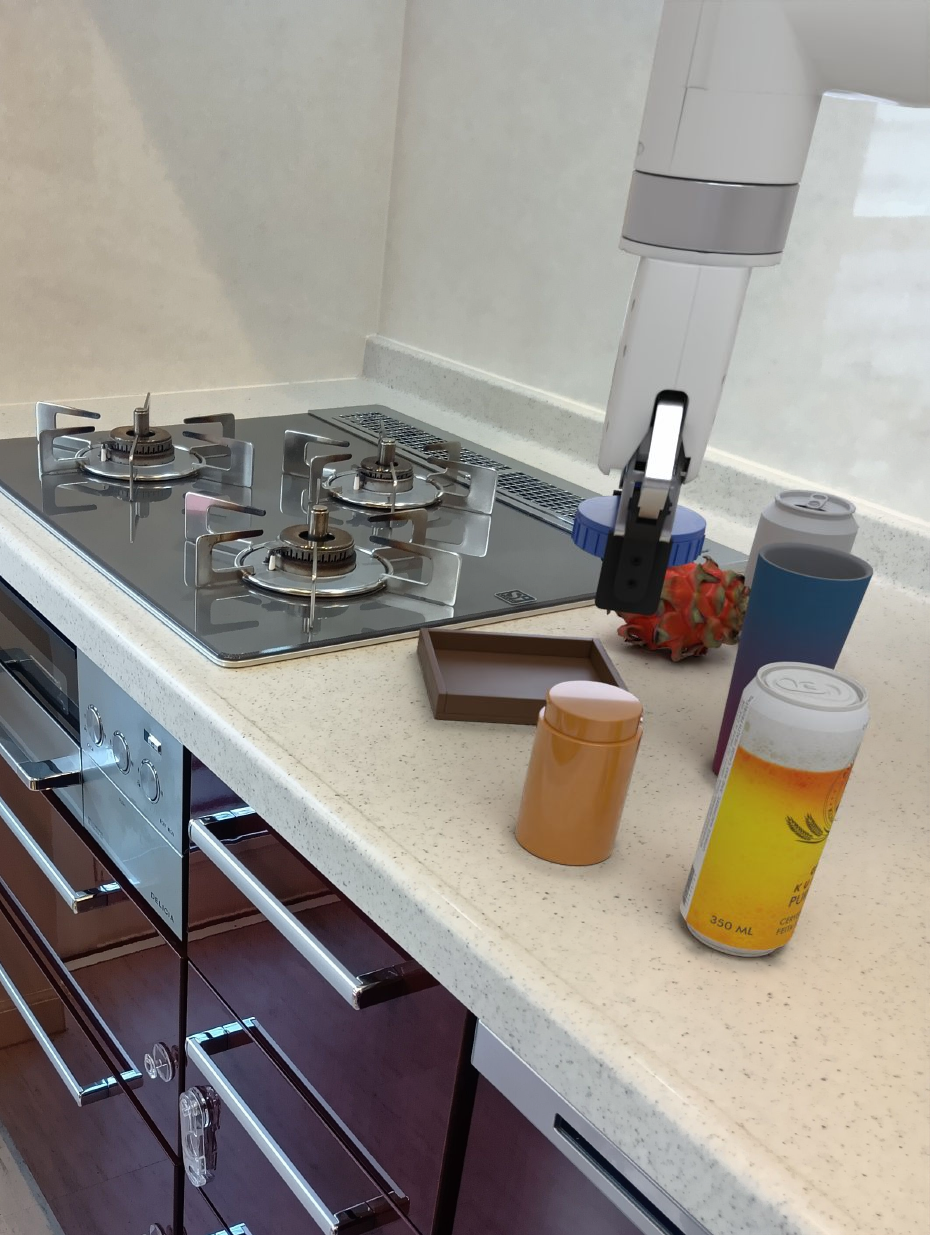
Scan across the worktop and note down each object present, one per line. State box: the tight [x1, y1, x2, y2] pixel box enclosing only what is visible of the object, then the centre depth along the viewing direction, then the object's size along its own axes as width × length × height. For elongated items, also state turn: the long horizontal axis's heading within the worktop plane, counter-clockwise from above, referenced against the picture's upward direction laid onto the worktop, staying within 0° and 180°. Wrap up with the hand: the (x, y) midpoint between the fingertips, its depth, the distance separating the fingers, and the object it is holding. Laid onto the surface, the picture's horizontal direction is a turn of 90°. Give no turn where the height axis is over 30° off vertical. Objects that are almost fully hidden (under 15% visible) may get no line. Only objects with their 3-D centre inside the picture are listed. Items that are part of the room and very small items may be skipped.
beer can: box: [679, 662, 871, 958], centre depth 69 cm, size 6×6×15 cm
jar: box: [514, 681, 644, 866], centre depth 77 cm, size 6×6×9 cm
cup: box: [711, 542, 874, 776], centre depth 85 cm, size 7×7×15 cm
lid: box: [570, 495, 707, 567], centre depth 69 cm, size 7×7×2 cm
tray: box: [416, 627, 630, 726], centre depth 98 cm, size 14×12×2 cm
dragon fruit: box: [606, 554, 751, 662], centre depth 105 cm, size 8×8×12 cm
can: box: [737, 488, 860, 639], centre depth 107 cm, size 8×8×12 cm
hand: (626, 584), depth 71 cm, fingers closed on lid, 6 cm apart
